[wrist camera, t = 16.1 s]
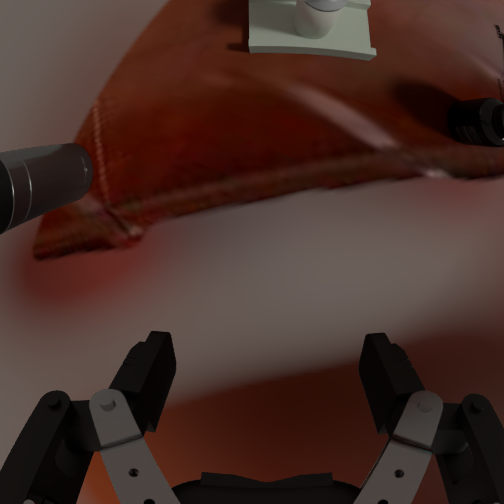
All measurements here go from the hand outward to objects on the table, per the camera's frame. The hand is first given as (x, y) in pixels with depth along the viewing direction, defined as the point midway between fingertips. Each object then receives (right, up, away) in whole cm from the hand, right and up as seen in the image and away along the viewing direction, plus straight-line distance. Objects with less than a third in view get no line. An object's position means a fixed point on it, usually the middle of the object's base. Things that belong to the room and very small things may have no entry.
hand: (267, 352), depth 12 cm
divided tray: (+7, +38, +18) cm, 42 cm away
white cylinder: (+7, +34, +18) cm, 39 cm away
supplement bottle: (+31, +24, +22) cm, 45 cm away
